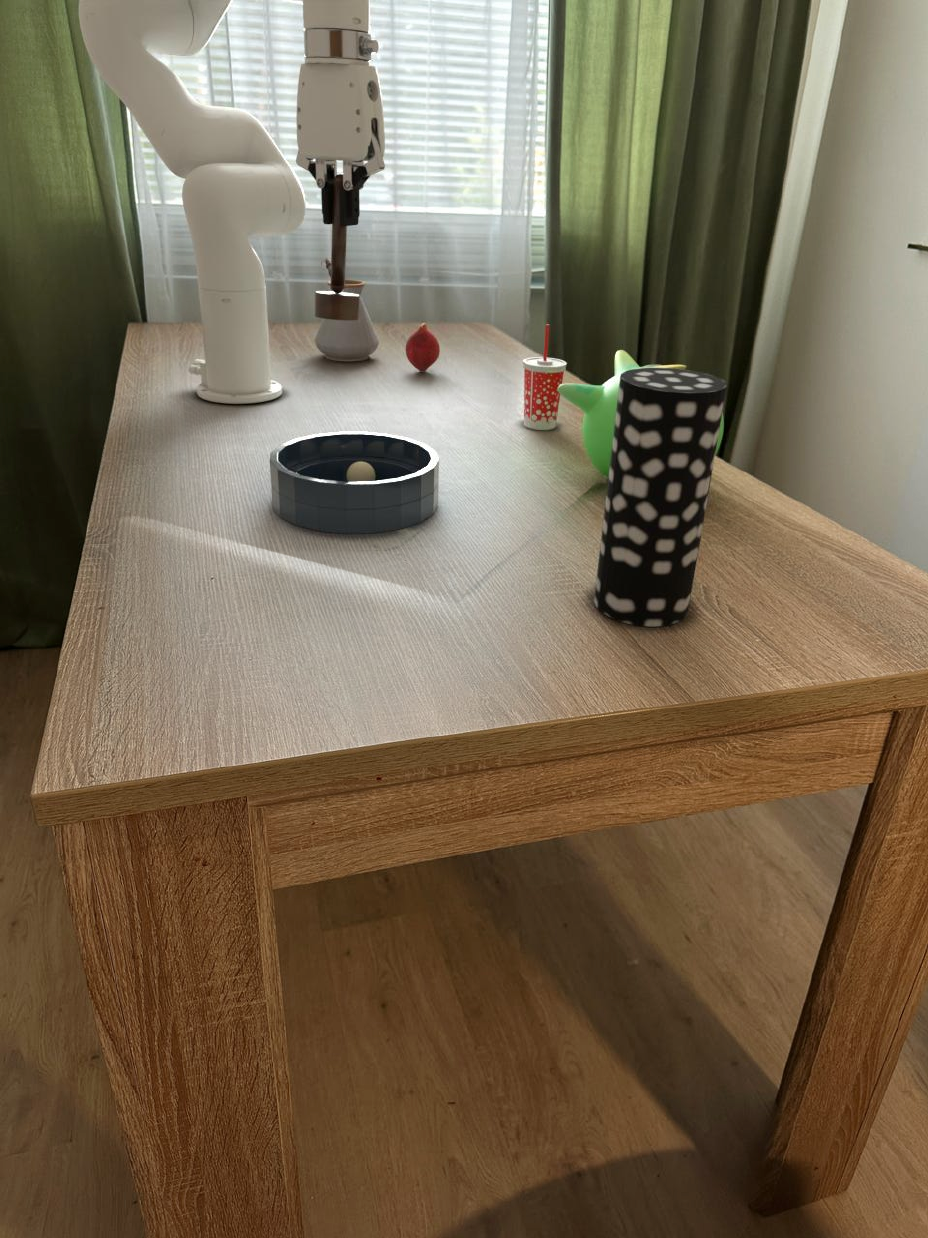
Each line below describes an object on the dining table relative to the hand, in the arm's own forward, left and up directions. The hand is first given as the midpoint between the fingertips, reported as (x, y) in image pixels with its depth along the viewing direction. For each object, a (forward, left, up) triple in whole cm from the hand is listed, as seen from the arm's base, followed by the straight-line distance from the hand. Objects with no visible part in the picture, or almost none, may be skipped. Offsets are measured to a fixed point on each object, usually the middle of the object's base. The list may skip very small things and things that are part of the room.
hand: (340, 223), depth 114 cm
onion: (-8, +36, -26) cm, 46 cm away
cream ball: (+16, -20, -25) cm, 36 cm away
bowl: (+18, -25, -26) cm, 40 cm away
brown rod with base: (0, -1, -11) cm, 11 cm away
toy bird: (+42, +1, -26) cm, 49 cm away
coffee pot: (-28, +41, -26) cm, 56 cm away
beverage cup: (+22, +17, -26) cm, 38 cm away
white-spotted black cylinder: (+52, -31, -26) cm, 66 cm away
